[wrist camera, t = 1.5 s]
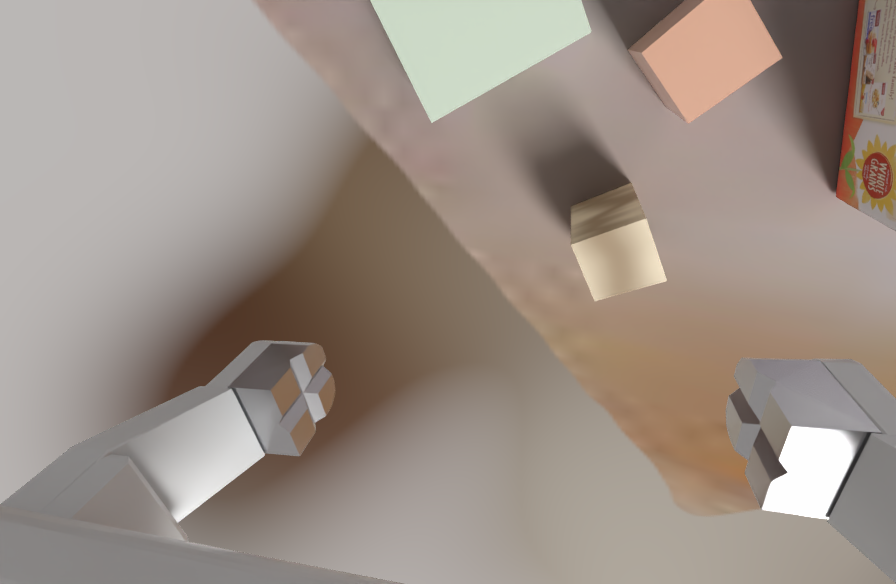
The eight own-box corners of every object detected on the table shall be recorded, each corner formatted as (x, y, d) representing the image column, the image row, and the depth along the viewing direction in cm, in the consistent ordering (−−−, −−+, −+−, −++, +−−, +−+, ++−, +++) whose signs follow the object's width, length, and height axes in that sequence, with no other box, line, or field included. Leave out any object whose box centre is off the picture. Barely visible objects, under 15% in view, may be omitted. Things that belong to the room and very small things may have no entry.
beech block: (631, 182, 33) (646, 218, 27) (648, 235, 35) (666, 280, 29) (570, 206, 36) (571, 244, 29) (590, 254, 37) (594, 301, 31)
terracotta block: (699, -13, 26) (735, -26, 21) (738, 53, 28) (782, 57, 22) (627, 49, 29) (641, 52, 23) (665, 107, 30) (688, 123, 24)
